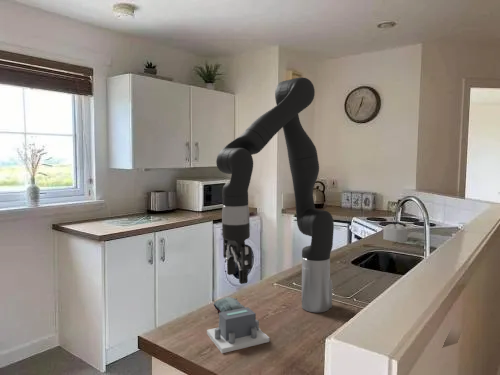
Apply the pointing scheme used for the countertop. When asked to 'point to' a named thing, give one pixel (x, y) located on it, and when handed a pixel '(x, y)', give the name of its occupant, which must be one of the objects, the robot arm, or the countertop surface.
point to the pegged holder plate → (239, 343)
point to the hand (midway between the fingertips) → (237, 278)
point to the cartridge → (237, 322)
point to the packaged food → (228, 304)
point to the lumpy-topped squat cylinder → (395, 232)
